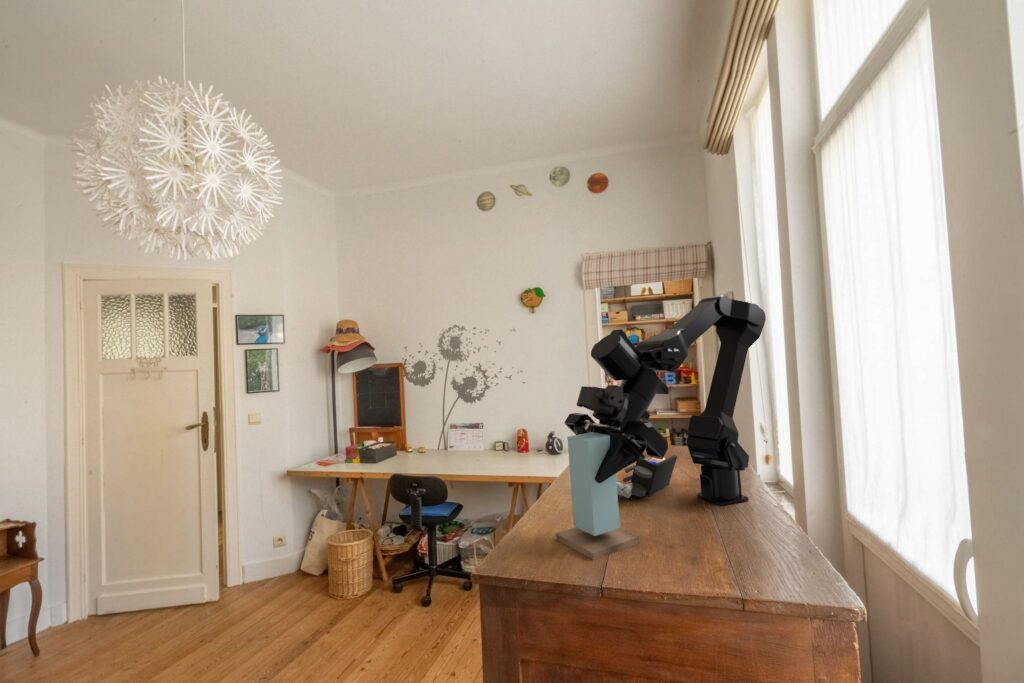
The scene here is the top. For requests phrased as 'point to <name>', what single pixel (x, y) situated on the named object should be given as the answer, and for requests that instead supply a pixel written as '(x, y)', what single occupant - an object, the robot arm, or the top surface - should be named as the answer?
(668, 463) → the character figurine
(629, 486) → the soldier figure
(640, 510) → the top surface
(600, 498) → the pillar
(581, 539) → the base tile
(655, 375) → the robot arm
